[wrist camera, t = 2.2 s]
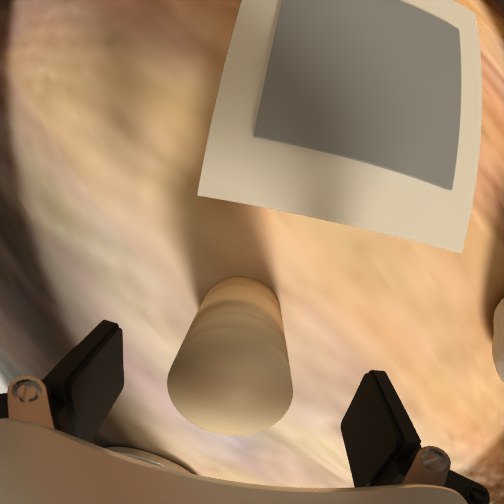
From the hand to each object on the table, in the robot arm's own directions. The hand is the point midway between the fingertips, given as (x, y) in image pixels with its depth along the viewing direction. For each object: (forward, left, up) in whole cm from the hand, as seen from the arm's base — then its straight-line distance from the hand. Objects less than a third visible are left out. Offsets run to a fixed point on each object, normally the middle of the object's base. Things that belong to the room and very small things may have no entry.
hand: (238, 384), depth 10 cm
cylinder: (-1, 0, -9) cm, 9 cm away
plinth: (+14, -4, -8) cm, 17 cm away
